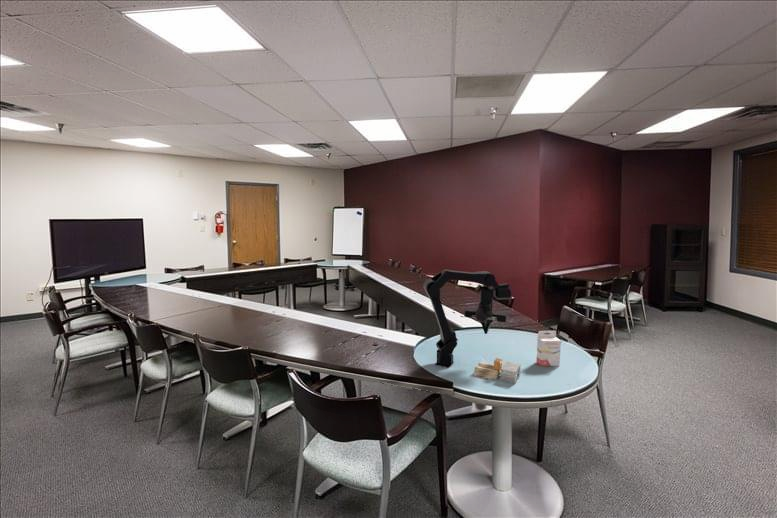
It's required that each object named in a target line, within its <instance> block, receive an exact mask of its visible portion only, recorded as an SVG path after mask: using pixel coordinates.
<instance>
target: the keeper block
mask: <svg viewBox="0 0 777 518" xmlns="http://www.w3.org/2000/svg"><path fill="white" fill-rule="evenodd" d="M520 377H521V364H520V363H515V362H509V361H505V362H504V363H503V364H502V368H501V373H500V376H499V378H500V380H502V381H501V382H505V381H506V382H505V383H509V382H511V383H510V384H514V383H515V384H514V385H516V384H517V382H518V381H519V378H520ZM517 380H518V381H517Z"/></svg>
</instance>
